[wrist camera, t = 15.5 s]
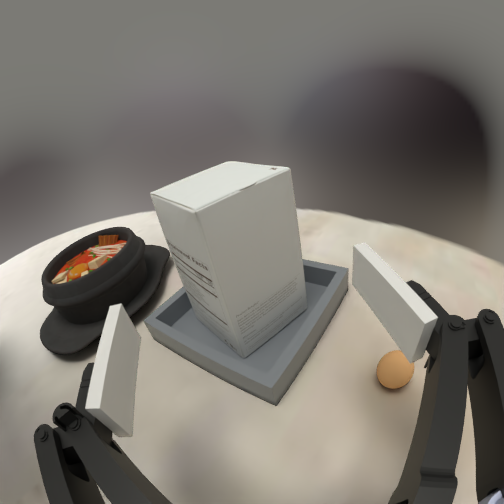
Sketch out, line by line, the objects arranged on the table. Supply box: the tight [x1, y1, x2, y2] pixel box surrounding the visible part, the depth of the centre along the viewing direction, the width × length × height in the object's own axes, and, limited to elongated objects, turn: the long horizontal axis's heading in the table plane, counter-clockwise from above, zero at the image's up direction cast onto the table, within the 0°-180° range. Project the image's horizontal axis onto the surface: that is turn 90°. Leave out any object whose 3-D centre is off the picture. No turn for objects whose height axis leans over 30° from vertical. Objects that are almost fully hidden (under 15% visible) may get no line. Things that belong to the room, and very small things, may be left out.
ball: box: [377, 350, 414, 389], centre depth 19 cm, size 3×3×3 cm
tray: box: [143, 259, 348, 406], centre depth 30 cm, size 16×16×3 cm
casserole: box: [40, 227, 170, 354], centre depth 36 cm, size 25×19×8 cm
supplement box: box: [150, 161, 307, 358], centre depth 26 cm, size 9×9×15 cm
